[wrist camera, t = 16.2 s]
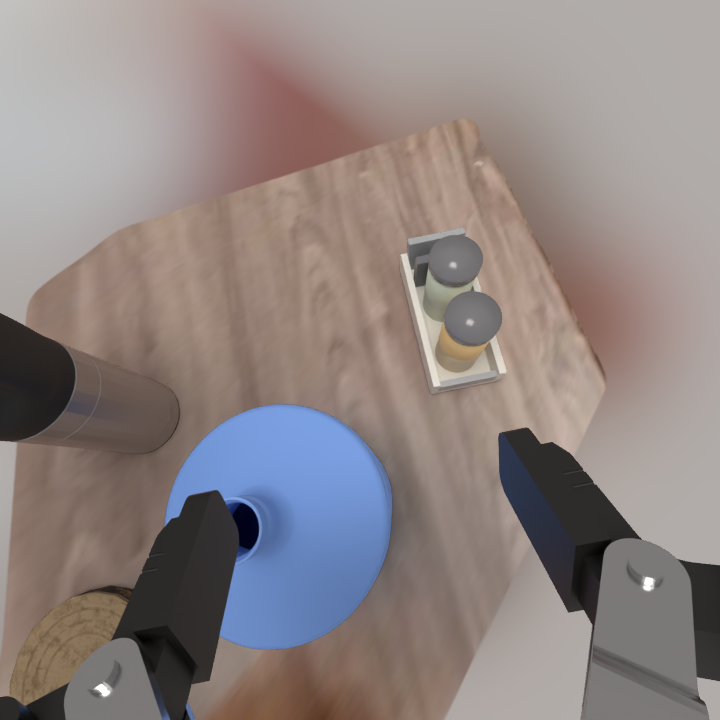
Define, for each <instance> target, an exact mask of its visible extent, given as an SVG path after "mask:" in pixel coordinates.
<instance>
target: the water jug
mask: <svg viewBox="0 0 720 720" xmlns="http://www.w3.org/2000/svg"><path fill="white" fill-rule="evenodd" d="M212 490H218V491H219V492H220V493H221V495H222V497H223V499H224V501H225V503H226V505H227V507H228V509H229V511H230V513H231V515H232V517H233V519H234V521H235V523H236V525H237V528H238V533H239V548H238V553H237V557H236V562H235V567H234V571H233V576H232V580H231V585H230V589H229V594H228V598H227V603H226V608H225V612H224V617H223V621H222V626H221V630H220V635H219V636H220V637H222V638H224V639H226V640H228V641H230V642H232V643H235V644H238V645H241V646H244V647H249V648H254V649H262V650H278V649H287V648H292V647H296V646H300V645H303V644H306V643H309V642H311V641H314V640H316V639H318V638H320V637H322V636H324V635H325V634H327V633H329V632H330V631H332V630H333V629H334V628H336V627H337V626H338V625H340V624H341V623H342V622H343V621H345V620H346V619H347V618H348V617H349V616H350V615H351V614H352V613H353V612H354V611H355V609H356V608H357V607H358V606H359V605H360V603H361V602H362V601H363V599H364V598H365V597H366V595H367V594H368V592H369V590H370V589H371V587H372V585H373V584H374V582H375V580H376V578H377V576H378V574H379V572H380V570H381V568H382V565H383V563H384V560H385V557H386V553H387V550H388V545H389V540H390V534H391V522H392V492H391V486H390V482H389V479H388V476H387V474H386V471H385V469H384V467H383V466H382V464H381V462H380V461H379V459H378V458H377V457H376V456H375V454H374V453H373V452H372V451H371V449H370V448H369V447H368V445H367V444H366V443H365V442H364V441H363V439H362V438H361V437H360V436H359V435H358V434H357V433H356V432H355V431H353V430H352V429H351V428H350V427H349V426H347V425H346V424H344V423H343V422H341V421H340V420H338V419H336V418H334V417H332V416H330V415H328V414H326V413H323V412H321V411H318V410H315V409H312V408H308V407H304V406H299V405H289V404H277V405H267V406H262V407H258V408H254V409H251V410H248V411H245V412H242V413H240V414H238V415H236V416H234V417H232V418H230V419H228V420H227V421H225V422H223V423H222V424H220V425H219V426H218V427H216V428H215V429H214V430H212V431H211V432H210V433H209V434H208V435H207V436H206V437H205V438H204V439H203V440H202V441H201V442H200V443H199V444H198V445H197V446H196V447H195V449H194V450H193V451H192V452H191V454H190V455H189V457H188V458H187V460H186V461H185V463H184V464H183V466H182V468H181V470H180V472H179V474H178V476H177V478H176V480H175V482H174V485H173V488H172V490H171V494H170V497H169V501H168V505H167V510H166V516H165V526H166V525H167V523H168V522H169V521H170V520H171V518H176V517H179V515H180V512H181V510H182V508H183V505H184V503H185V500H186V498H187V497H188V496H189V495H193V494H198V493H203V492H208V491H212ZM165 526H164V527H165Z"/></svg>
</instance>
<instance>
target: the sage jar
mask: <svg viewBox="0 0 720 720" xmlns="http://www.w3.org/2000/svg"><path fill="white" fill-rule="evenodd" d="M482 262H483V255H482V251H481V249H480V247H479V246H478V245H477V244H476V243H475V242H474V241H473V240H472V239H470V238H468V237H465V236H461V235H450V236H446V237H443V238H441V239H440V240H438V241H437V242H436V243H435V244H434V245H433V246H432V248H431V251H430V254H429V260H428V272H427V278H426V284H425V291H424V297H423V309H424V311H425V313H426V314H427V315H428V316H429V317H430V318H431V319H433V320H435V321H438V322H443V321H444V314H445V311H446V308H447V306H448V304H449V302H450V301H451V300H452V299H453V298H454V297H455V296H457V295H458V294H461V293H463V292H468V291H470V290H471V288H472V285H473V283H474V280H475V278H476V277H477V275H478V273H479V271H480V268H481V266H482Z"/></svg>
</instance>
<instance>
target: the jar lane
mask: <svg viewBox="0 0 720 720" xmlns="http://www.w3.org/2000/svg"><path fill="white" fill-rule="evenodd" d="M450 235H461V236H465V230H464V228H459V229H455V230H450V231H445V232H440V233H436V234H431V235H426V236H421V237H417V238H412V239H408V242H407V253H405V254H401V259H400V272H401V276H402V280H403V284H404V288H405V292H406V296H407V300H408V304H409V308H410V312H411V316H412V321H413V325H414V329H415V333H416V337H417V341H418V345H419V349H420V353H421V357H422V361H423V365H424V369H425V373H426V378H427V382H428V386H429V390H430V394H435V393H440V392H445V391H450V390H455V389H460V388H465V387H470V386H475V385H480V384H485V383H490V382H495V381H498V380H499V379H500V378H502V377H503V376H504V375H505V374H506V373H507V371H506V368H505V365H504V361H503V358H502V355H501V352H500V349H499V345H498V342H497V339H496V336H494V337H493V338H492V339H491V340H490V341H489V343H488V344H487V346H486V347H485V349H484V350H483V352H482V353H481V355H480V356H479V358H478V359H477V361H476V362H475V364H474V365H473V366H472V367H471V368H470V369H468V370H466V371H464V372H451V371H448V370H446V369H444V368H443V367H442V366H441V365H440V364H439V363H438V361H437V360H436V357H435V347H436V343H437V340H438V337H439V334H440V331H441V327H442V324H443V322H438V321H435V320H433V319H431V318H430V317H429V316H428V315H427V314H426V313H425V311H424V309H423V297H424V291H425V285H424V286H419V287H415V283H414V279H413V278H414V268H415V258H416V257H418V256H423V255H428V254H430V251H431V248H432V246H433V245H434V244H435V243H436V242H437V241H438V240H440V239H441V238H443V237H446V236H450ZM470 291H477V292H481V293H482V291H481V288H480V284H479V281H478V278H477V277H476V278H475V280H474V283H473V285H472V288H471V290H470Z"/></svg>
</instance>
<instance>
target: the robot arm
mask: <svg viewBox="0 0 720 720" xmlns="http://www.w3.org/2000/svg"><path fill="white" fill-rule="evenodd" d="M178 418H179V406H178V401H177V399H176V397H175V395H174V394H173V392H172V391H171V390H170V389H169V388H167V387H166V386H164V385H162V384H159V383H157V382H155V381H152V380H150V379H147V378H145V377H143V376H141V375H138V374H136V373H133V372H131V371H128V370H126V369H123V368H121V367H118V366H116V365H114V364H111V363H109V362H106V361H104V360H101V359H99V358H96V357H94V356H91V355H89V354H87V353H84V352H82V351H79V350H76V349H74V348H71V347H69V346H66V345H64V344H62V343H59V342H57V341H54V340H52V339H49V338H47V337H44V336H42V335H40V334H39V333H37V332H35V331H33V330H31V329H30V328H28V327H26V326H24V325H23V324H21V323H19V322H17V321H15V320H13V319H11V318H9V317H7V316H5V315H3V314H1V313H0V441H11V442H20V443H31V444H43V445H53V446H63V447H73V448H83V449H93V450H103V451H113V452H122V453H133V454H144V453H147V452H151V451H153V450H155V449H157V448H159V447H160V446H162V445H163V444H164V443H165V442H166V441H167V440H168V439H169V438H170V437H171V435H172V433H173V432H174V430H175V428H176V425H177V423H178ZM498 441H499V472H500V479H501V483H502V486H503V489H504V492H505V494H506V496H507V498H508V500H509V502H510V504H511V506H512V507H513V509H514V511H515V513H516V515H517V517H518V519H519V521H520V522H521V524H522V526H523V528H524V530H525V532H526V534H527V536H528V537H529V539H530V541H531V543H532V545H533V547H534V549H535V550H536V552H537V554H538V556H539V558H540V560H541V562H542V564H543V566H544V567H545V569H546V571H547V573H548V575H549V577H550V579H551V580H552V582H553V584H554V586H555V588H556V590H557V592H558V594H559V595H560V597H561V599H562V601H563V603H564V605H565V607H566V609H567V611H568V612H574V611H579V610H584V611H585V613H586V614H587V616H588V618H589V620H590V621H591V623H592V632H591V640H590V648H589V657H588V665H587V672H586V682H585V688H584V697H583V704H582V712H581V720H709V715H708V711H707V707H706V704H705V702H704V701H702V700H701V699H700V697H699V694H698V688H697V677H700V678H705V679H711V680H716V681H720V565H710V564H701V563H692V562H687V561H683V560H679V559H676V558H675V557H674V556H673V555H672V554H670V553H669V552H668V551H666V550H665V549H663V548H661V547H660V546H657V545H655V544H653V543H651V542H647V541H644V540H642V539H641V538H640V537H639V536H638V535H637V534H636V533H635V531H634V530H633V529H632V528H631V527H630V525H629V524H628V523H627V522H626V521H625V519H624V518H623V517H622V516H621V515H620V513H619V512H618V511H617V510H616V508H615V507H614V506H613V505H612V503H611V502H610V501H609V500H608V499H607V497H606V496H605V495H604V494H603V492H602V491H601V490H600V489H599V488H598V487H597V485H594V483H593V480H592V479H591V478H590V477H589V475H588V474H587V473H586V472H584V471H583V468H582V467H581V466H580V465H579V463H578V462H577V461H576V460H575V459H574V457H573V456H572V455H571V454H570V453H569V452H567V451H566V450H564V449H562V448H561V447H559V446H558V445H556V444H554V443H553V442H550V443H545V444H540V442H539V441H538V440H537V438H536V437H535V436H534V434H533V433H532V432H531V430H530V429H529V428H521V429H516V430H511V431H506V432H501V433H499V437H498ZM238 548H239V533H238V528H237V525H236V523H235V521H234V519H233V517H232V515H231V513H230V511H229V509H228V507H227V505H226V503H225V501H224V499H223V497H222V495H221V493H220V492H219V491H218V490H212V491H208V492H203V493H198V494H193V495H189V496H188V497H187V498H186V500H185V503H184V505H183V508H182V510H181V512H180V515H179V517H176V518H171V520H170V521H169V522H168V523H167V525H166V526H165V527H164V528H163V529H162V531H161V532H160V533H159V534H158V536H157V538H156V540H155V542H154V544H153V547H152V549H151V551H150V553H149V558H147V560H146V563H145V565H144V567H143V569H142V574H140V576H139V578H138V581H137V583H136V585H135V588H134V590H133V592H132V594H131V597H130V599H129V601H128V603H127V606H126V608H125V610H124V613H123V615H122V617H121V619H120V622H119V624H118V626H117V629H116V631H115V633H114V635H113V637H112V639H111V641H110V642H108V643H106V644H104V645H102V646H101V647H100V648H98V649H97V650H95V651H94V652H93V653H92V654H91V655H90V656H89V657H88V658H87V659H86V660H85V661H84V662H83V663H82V664H81V666H80V667H79V668H78V670H77V671H76V672H75V674H74V676H73V677H72V679H71V681H70V682H69V683H67V684H65V685H63V686H62V687H60V688H58V689H56V690H54V691H52V692H50V693H48V694H46V695H44V696H43V697H41V698H39V699H37V700H35V701H33V702H31V703H29V704H27V705H26V706H24V705H23V704H22V703H20V702H19V701H18V700H17V699H15V698H13V697H9V696H5V697H0V720H195V718H194V715H193V712H192V710H191V707H190V706H189V704H188V702H187V700H188V696H189V692H190V688H191V684H195V683H200V682H205V681H210V676H211V672H212V667H213V662H214V658H215V653H216V649H217V644H218V640H219V635H220V630H221V626H222V621H223V617H224V612H225V608H226V603H227V598H228V594H229V589H230V585H231V580H232V576H233V571H234V567H235V562H236V557H237V553H238Z"/></svg>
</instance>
